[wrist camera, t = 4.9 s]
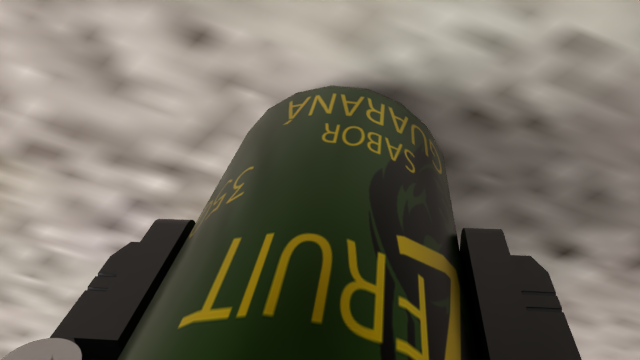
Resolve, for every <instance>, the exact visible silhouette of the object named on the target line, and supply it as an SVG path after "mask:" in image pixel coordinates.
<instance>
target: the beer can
mask: <svg viewBox="0 0 640 360" xmlns="http://www.w3.org/2000/svg"><path fill="white" fill-rule="evenodd" d="M117 360H478V356H477V350H476V345H475V339H474V333H473V327H472V321H471V315H470V310H469V304H468V298H467V292H466V286H465V280H464V275H463V269H462V263H461V257H460V251H459V245H458V240H457V234H456V228H455V222H454V216H453V210H452V205H451V199H450V193H449V187H448V181H447V175H446V170H445V164H444V158H443V154H442V152H441V150H440V149H439V147H438V145H437V143H436V142H435V140H434V138H433V136H432V135H431V133H430V131H429V129H428V128H427V126H426V125H425V124H423V123H422V122H421V121H420V120H419V119H418V118H417V117H415V116H414V115H413V114H412V113H411V112H410V111H409V110H407V109H406V108H405V107H404V106H403V105H402V104H400V103H398V102H396V101H393V100H391V99H389V98H386V97H384V96H382V95H379V94H377V93H375V92H372V91H370V90H368V89H358V88H349V87H339V86H328V87H323V88H318V89H313V90H308V91H303V92H298V93H296V94H294V95H292V96H291V97H289V98H287V99H285V100H284V101H282V102H280V103H278V104H277V105H275V106H273V107H271V108H270V109H268V110H267V111H266V112H265V114H264V115H263V116H262V117H261V118H260V119H259V120H258V122H257V123H256V124H255V125H254V126H253V127H252V129H251V130H250V131H249V132H248V133H247V135H246V137H245V139H244V140H243V142H242V144H241V145H240V147H239V149H238V151H237V152H236V154H235V156H234V158H233V159H232V161H231V163H230V165H229V166H228V168H227V170H226V172H225V173H224V175H223V177H222V179H221V180H220V182H219V184H218V185H217V187H216V189H215V191H214V192H213V194H212V196H211V198H210V199H209V201H208V203H207V205H206V206H205V208H204V210H203V212H202V213H201V215H200V217H199V219H198V220H197V222H196V224H195V226H194V227H193V229H192V231H191V232H190V234H189V236H188V238H187V239H186V241H185V243H184V245H183V246H182V248H181V250H180V252H179V253H178V255H177V257H176V259H175V260H174V262H173V264H172V266H171V267H170V269H169V271H168V272H167V274H166V276H165V278H164V279H163V281H162V283H161V285H160V286H159V288H158V290H157V292H156V293H155V295H154V297H153V299H152V300H151V302H150V304H149V306H148V307H147V309H146V311H145V312H144V314H143V316H142V318H141V319H140V321H139V323H138V325H137V326H136V328H135V330H134V332H133V333H132V335H131V337H130V339H129V340H128V342H127V344H126V346H125V347H124V349H123V351H122V353H121V354H120V356H119V358H118V359H117Z"/></svg>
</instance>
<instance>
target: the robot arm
mask: <svg viewBox="0 0 640 360" xmlns="http://www.w3.org/2000/svg"><path fill="white" fill-rule="evenodd" d="M195 224H196V223H195V221H193V220H174V219H157V220H156V221H155V222H154V223H153V224H152V226H151V227H150V229H149V230H148V232H147V233H146V234H145V236H144V237H143V239H142V240H141V242H130V243H129V244H127V245H126V246H125V247H123V248H122V249H120V250H119V251H117V252H116V253H115V254H113V255H112V256H110V258H109V259H108V260H107V262H106V263H105V264H104V266H103V267H102V268H101V270H100V271H99V272H98V276H95V278H94V279H93V280H92V282H91V283H90V285H89V286H88V290H87V291H84V293H83V294H82V295H81V297H80V298H79V299H78V301H77V302H76V303H75V305H74V306H73V307H72V309H71V310H70V311H69V313H68V314H67V315H66V317H65V318H64V319H63V321H62V322H61V323H60V325H59V326H58V327H57V329H56V330H55V331H54V333H53V334H52V335H51V337H50V338H47V339H41V340H37V341H33V342H31V343H28V344H25V345H23V346H21V347H19V348H17V349H15V350H14V351H12V352H10V353H9V354H7V355H6V356H5V357H3V358H2V359H1V360H117V359H118V358H119V356H120V354H121V353H122V351H123V349H124V347H125V346H126V344H127V342H128V340H129V339H130V337H131V335H132V333H133V332H134V330H135V328H136V326H137V325H138V323H139V321H140V319H141V318H142V316H143V314H144V312H145V311H146V309H147V307H148V306H149V304H150V302H151V300H152V299H153V297H154V295H155V293H156V292H157V290H158V288H159V286H160V285H161V283H162V281H163V279H164V278H165V276H166V274H167V272H168V271H169V269H170V267H171V266H172V264H173V262H174V260H175V259H176V257H177V255H178V253H179V252H180V250H181V248H182V246H183V245H184V243H185V241H186V239H187V238H188V236H189V234H190V232H191V231H192V229H193V227H194V226H195ZM460 257H461V263H462V269H463V275H464V280H465V286H466V292H467V298H468V304H469V310H470V315H471V321H472V327H473V333H474V339H475V345H476V350H477V356H478V360H582V359H581V357H580V354H579V351H578V349H577V346H576V344H575V341H574V338H573V336H572V333H571V331H570V328H569V325H568V323H567V320H566V318H565V315H564V313H563V312H562V307H561V305H560V302H559V300H558V297H557V296H556V292H555V289H554V287H553V284H552V281H551V279H550V276H549V274H548V272H547V271H546V270H545V269H544V268H543V267H542V266H541V265H539V264H538V263H537V262H536V261H535V260H534V259H533V258H532V257H531V256H520V255H510V253H509V249H508V246H507V243H506V240H505V236H504V233H503V231H502V230H501V229H473V228H463V230H462V234H461V242H460Z"/></svg>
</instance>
